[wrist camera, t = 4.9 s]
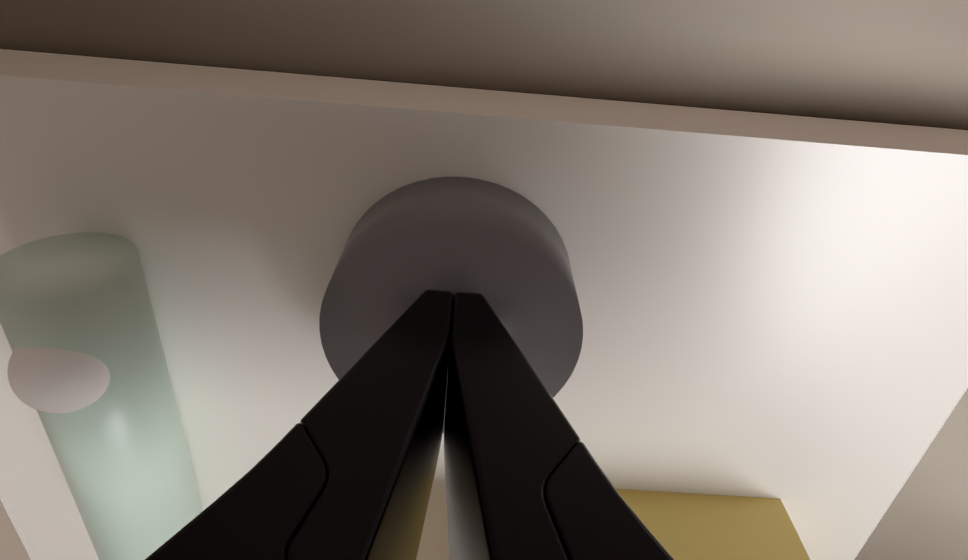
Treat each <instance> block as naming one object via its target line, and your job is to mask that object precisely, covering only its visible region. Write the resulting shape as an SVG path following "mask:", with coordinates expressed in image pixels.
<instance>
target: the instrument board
mask: <svg viewBox="0 0 968 560" xmlns="http://www.w3.org/2000/svg"><path fill="white" fill-rule="evenodd" d="M426 290H440V291H450V292H452V293H453V296H454V295H455V294H456V293H457V292H467V293H480V294H482V295H483V296H484V297H485V299H486V300H487V301H488V303H489V304H490V306H491V307H492V309H493V310H494V312H495V313H496V315H497V316H498V318H499V319H500V321H501V322H502V324H503V325H504V327H505V328H506V330H507V331H508V333H509V334H510V335H511V337H512V338H513V340H514V341H515V343H516V344H517V346H518V347H519V349H520V350H521V352H522V353H523V355H524V356H525V358H526V359H527V361H528V362H529V364H530V365H531V367H532V368H533V369H534V371H535V372H536V374H537V375H538V377H539V378H540V380H541V381H542V383H543V384H544V386H545V387H546V389H547V390H548V392H549V393H550V395H551V396H552V398H553V399H554V401H555V402H556V403H557V405H558V406H559V408H560V409H561V411H562V412H563V414H564V415H565V417H566V418H567V420H568V421H569V423H570V424H571V426H572V427H573V429H574V430H575V432H576V433H577V435H578V436H579V438H580V442H583V443H584V444H585V446H586V447H587V449H588V450H589V452H590V453H591V455H592V457H593V458H594V460H595V461H596V462H597V464H598V465H599V467H600V468H601V469H602V471H603V472H604V473H605V475H606V476H607V478H608V479H609V480H610V482H611V483H612V485H613V486H614V487H615V489H616V490H617V491H618V493H619V494H620V495H621V497H622V498H623V499H624V500H625V501H626V503H627V504H628V505H629V506H630V508H631V509H632V510H633V511H634V512H635V514H636V515H637V516H638V517H639V519H640V520H641V521H642V522H643V523H644V525H645V526H646V527H647V528H648V529H649V531H650V532H651V533H652V534H653V535H654V536H655V538H656V539H657V540H658V541H659V542H660V543H661V545H662V546H663V547H664V548H665V549H666V550H667V552H668V553H669V554H670V555H671V556H672V557H673V559H674V560H854V559H855V558H856V556H857V555H858V553H859V552H860V550H861V549H862V547H863V546H864V544H865V543H866V541H867V540H868V538H869V537H870V535H871V534H872V532H873V531H874V529H875V528H876V526H877V525H878V523H879V521H880V520H881V518H882V517H883V515H884V514H885V512H886V511H887V509H888V508H889V506H890V505H891V503H892V502H893V500H894V499H895V497H896V496H897V494H898V493H899V491H900V490H901V488H902V487H903V485H904V484H905V482H906V481H907V479H908V477H909V476H910V474H911V473H912V471H913V470H914V468H915V467H916V465H917V464H918V462H919V461H920V459H921V458H922V456H923V455H924V453H925V452H926V450H927V449H928V447H929V446H930V444H931V443H932V441H933V440H934V438H935V437H936V435H937V433H938V432H939V430H940V429H941V427H942V426H943V424H944V423H945V421H946V420H947V418H948V417H949V415H950V414H951V412H952V411H953V409H954V408H955V406H956V405H957V403H958V402H959V400H960V399H961V397H962V396H963V394H964V392H965V391H966V389H967V388H968V130H959V129H947V128H935V127H923V126H911V125H899V124H888V123H876V122H864V121H852V120H840V119H828V118H816V117H804V116H792V115H780V114H769V113H757V112H745V111H733V110H721V109H709V108H697V107H685V106H673V105H661V104H650V103H638V102H626V101H614V100H602V99H590V98H578V97H566V96H554V95H542V94H531V93H519V92H507V91H495V90H483V89H471V88H459V87H447V86H435V85H423V84H412V83H400V82H388V81H376V80H364V79H352V78H340V77H328V76H316V75H304V74H293V73H281V72H269V71H257V70H245V69H233V68H221V67H209V66H197V65H185V64H174V63H162V62H150V61H138V60H126V59H114V58H102V57H90V56H78V55H67V54H55V53H43V52H31V51H19V50H7V49H0V500H1V502H2V504H3V506H4V508H5V510H6V512H7V514H8V516H9V518H10V520H11V522H12V524H13V526H14V527H15V529H16V531H17V533H18V535H19V537H20V539H21V541H22V543H23V545H24V547H25V549H26V551H27V553H28V555H29V557H30V559H31V560H145V559H146V558H147V557H148V556H150V555H151V554H152V553H153V552H154V551H156V550H157V549H158V548H159V547H160V546H162V545H163V544H164V543H165V542H166V541H168V540H169V539H170V538H171V537H172V536H174V535H175V534H176V533H177V532H178V531H180V530H181V529H182V528H183V527H184V526H186V525H187V524H188V523H189V522H190V521H192V520H193V519H194V518H195V517H196V516H198V515H199V514H200V513H201V512H202V511H204V510H205V509H206V508H207V507H208V506H210V505H211V504H212V503H213V502H214V501H216V500H217V499H218V498H219V497H220V496H221V495H222V494H224V493H225V492H226V491H227V490H228V489H229V488H230V487H232V486H233V485H234V484H235V483H236V482H237V481H238V480H240V479H241V478H242V477H243V476H244V475H245V474H246V473H248V472H249V471H250V470H251V469H252V468H253V467H254V466H255V465H256V464H257V463H258V462H259V461H260V460H261V459H262V458H263V457H264V456H265V455H266V454H267V453H268V452H269V451H270V450H271V449H272V448H273V447H274V446H275V445H276V444H277V443H279V442H280V441H281V439H282V438H283V437H284V436H285V435H286V434H287V433H288V432H289V431H290V430H291V429H292V428H293V427H294V426H295V425H296V424H297V423H300V421H301V419H302V418H303V417H304V416H305V415H306V414H307V413H308V412H309V411H310V410H311V409H312V408H313V407H314V406H315V404H316V403H317V402H318V401H319V400H320V399H321V398H322V397H323V396H324V395H325V394H326V393H327V392H328V391H329V390H330V389H331V388H332V387H333V386H334V385H335V384H336V383H337V382H338V381H339V379H340V378H341V377H342V376H343V375H344V374H345V373H346V372H347V371H348V370H349V369H350V368H351V367H352V366H353V365H354V364H355V363H356V362H357V361H358V360H359V359H360V358H361V357H362V356H363V355H364V353H365V352H366V351H367V350H368V349H369V348H370V347H371V346H372V345H373V344H374V343H375V342H376V341H377V340H378V339H379V338H380V337H381V336H382V335H383V334H384V333H385V332H386V331H387V330H388V329H389V327H390V326H391V325H392V324H393V323H394V322H395V321H396V320H397V319H398V318H399V317H400V316H401V315H402V314H403V313H404V312H405V311H406V310H407V309H408V308H409V307H410V306H411V305H412V304H413V302H414V301H415V300H416V299H417V298H418V297H419V296H420V295H421V294H422V293H423V292H424V291H426ZM453 303H454V297H453ZM452 314H453V312H452ZM448 365H449V364H448ZM447 379H448V376H447ZM446 393H447V389H446ZM445 406H446V401H445ZM444 420H445V413H444ZM416 560H450V559H449V540H448V521H447V503H446V484H445V465H444V425H443V433H442V441H441V446H440V451H439V456H438V461H437V465H436V470H435V475H434V479H433V484H432V488H431V493H430V498H429V502H428V507H427V511H426V516H425V521H424V525H423V530H422V534H421V539H420V544H419V548H418V553H417V557H416Z"/></svg>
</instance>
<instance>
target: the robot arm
mask: <svg viewBox="0 0 968 560" xmlns="http://www.w3.org/2000/svg"><path fill="white" fill-rule="evenodd" d="M453 297H454V303H453ZM452 312H453V314H452ZM448 364H449V365H448ZM447 376H448V379H447ZM446 389H447V393H446ZM445 401H446V406H445ZM444 413H445V420H444ZM443 425H444V465H445V484H446V503H447V521H448V540H449V559H450V560H674V559H673V557H672V556H671V555H670V554H669V553H668V552H667V550H666V549H665V548H664V547H663V546H662V545H661V543H660V542H659V541H658V540H657V539H656V538H655V536H654V535H653V534H652V533H651V532H650V531H649V529H648V528H647V527H646V526H645V525H644V523H643V522H642V521H641V520H640V519H639V517H638V516H637V515H636V514H635V512H634V511H633V510H632V509H631V508H630V506H629V505H628V504H627V503H626V501H625V500H624V499H623V498H622V497H621V495H620V494H619V493H618V491H617V490H616V489H615V487H614V486H613V485H612V483H611V482H610V480H609V479H608V478H607V476H606V475H605V473H604V472H603V471H602V469H601V468H600V467H599V465H598V464H597V462H596V461H595V460H594V458H593V457H592V455H591V453H590V452H589V450H588V449H587V447H586V446H585V444H584V443H583V442H580V438H579V436H578V435H577V433H576V432H575V430H574V429H573V427H572V426H571V424H570V423H569V421H568V420H567V418H566V417H565V415H564V414H563V412H562V411H561V409H560V408H559V406H558V405H557V403H556V402H555V401H554V399H553V398H552V396H551V395H550V393H549V392H548V390H547V389H546V387H545V386H544V384H543V383H542V381H541V380H540V378H539V377H538V375H537V374H536V372H535V371H534V369H533V368H532V367H531V365H530V364H529V362H528V361H527V359H526V358H525V356H524V355H523V353H522V352H521V350H520V349H519V347H518V346H517V344H516V343H515V341H514V340H513V338H512V337H511V335H510V334H509V333H508V331H507V330H506V328H505V327H504V325H503V324H502V322H501V321H500V319H499V318H498V316H497V315H496V313H495V312H494V310H493V309H492V307H491V306H490V304H489V303H488V301H487V300H486V299H485V297H484V296H483V295H482V294H480V293H467V292H457V293H456V294H455V295H454V296H453V293H452V292H450V291H440V290H426V291H424V292H423V293H422V294H421V295H420V296H419V297H418V298H417V299H416V300H415V301H414V302H413V304H412V305H411V306H410V307H409V308H408V309H407V310H406V311H405V312H404V313H403V314H402V315H401V316H400V317H399V318H398V319H397V320H396V321H395V322H394V323H393V324H392V325H391V326H390V327H389V329H388V330H387V331H386V332H385V333H384V334H383V335H382V336H381V337H380V338H379V339H378V340H377V341H376V342H375V343H374V344H373V345H372V346H371V347H370V348H369V349H368V350H367V351H366V352H365V353H364V355H363V356H362V357H361V358H360V359H359V360H358V361H357V362H356V363H355V364H354V365H353V366H352V367H351V368H350V369H349V370H348V371H347V372H346V373H345V374H344V375H343V376H342V377H341V378H340V379H339V381H338V382H337V383H336V384H335V385H334V386H333V387H332V388H331V389H330V390H329V391H328V392H327V393H326V394H325V395H324V396H323V397H322V398H321V399H320V400H319V401H318V402H317V403H316V404H315V406H314V407H313V408H312V409H311V410H310V411H309V412H308V413H307V414H306V415H305V416H304V417H303V418H302V419H301V421H300V423H297V424H296V425H295V426H294V427H293V428H292V429H291V430H290V431H289V432H288V433H287V434H286V435H285V436H284V437H283V438H282V439H281V441H280V442H279V443H277V444H276V445H275V446H274V447H273V448H272V449H271V450H270V451H269V452H268V453H267V454H266V455H265V456H264V457H263V458H262V459H261V460H260V461H259V462H258V463H257V464H256V465H255V466H254V467H253V468H252V469H251V470H250V471H249V472H248V473H246V474H245V475H244V476H243V477H242V478H241V479H240V480H238V481H237V482H236V483H235V484H234V485H233V486H232V487H230V488H229V489H228V490H227V491H226V492H225V493H224V494H222V495H221V496H220V497H219V498H218V499H217V500H216V501H214V502H213V503H212V504H211V505H210V506H208V507H207V508H206V509H205V510H204V511H202V512H201V513H200V514H199V515H198V516H196V517H195V518H194V519H193V520H192V521H190V522H189V523H188V524H187V525H186V526H184V527H183V528H182V529H181V530H180V531H178V532H177V533H176V534H175V535H174V536H172V537H171V538H170V539H169V540H168V541H166V542H165V543H164V544H163V545H162V546H160V547H159V548H158V549H157V550H156V551H154V552H153V553H152V554H151V555H150V556H148V557H147V558H146V559H145V560H416V557H417V553H418V548H419V544H420V539H421V534H422V530H423V525H424V521H425V516H426V511H427V507H428V502H429V498H430V493H431V488H432V484H433V479H434V475H435V470H436V465H437V461H438V456H439V451H440V446H441V441H442V433H443Z"/></svg>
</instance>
